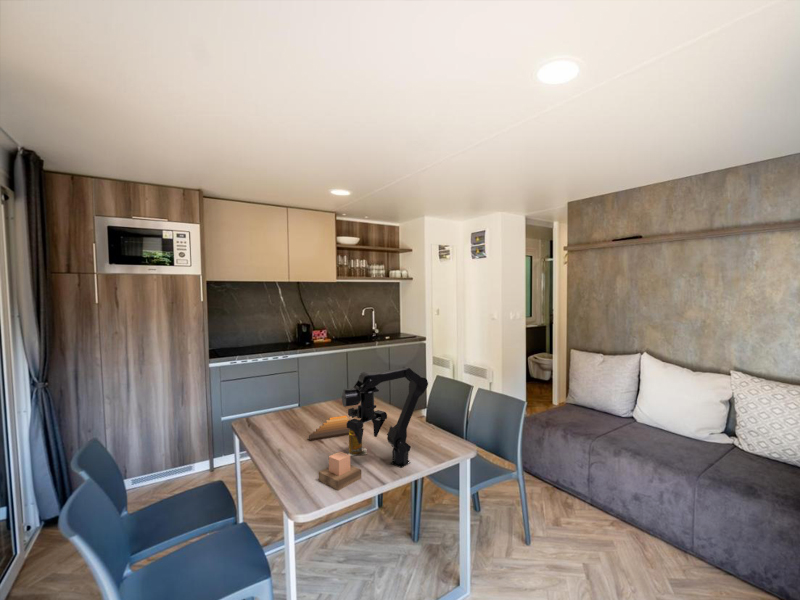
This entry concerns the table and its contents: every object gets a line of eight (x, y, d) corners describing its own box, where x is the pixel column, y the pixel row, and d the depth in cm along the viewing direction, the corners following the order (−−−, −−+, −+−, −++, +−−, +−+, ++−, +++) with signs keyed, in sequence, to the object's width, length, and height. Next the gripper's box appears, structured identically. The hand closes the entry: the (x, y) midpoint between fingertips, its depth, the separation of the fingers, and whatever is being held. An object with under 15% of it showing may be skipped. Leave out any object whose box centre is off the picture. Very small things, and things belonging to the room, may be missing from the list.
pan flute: (310, 442, 185) (357, 434, 195) (309, 436, 185) (357, 428, 195) (302, 426, 208) (345, 420, 218) (302, 420, 208) (345, 414, 218)
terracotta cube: (350, 470, 148) (350, 455, 148) (339, 475, 143) (338, 460, 143) (340, 465, 151) (340, 451, 151) (328, 471, 147) (328, 456, 147)
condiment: (348, 449, 176) (348, 424, 176) (366, 448, 177) (366, 423, 176) (348, 456, 169) (347, 430, 168) (366, 455, 169) (366, 429, 169)
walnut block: (361, 479, 148) (361, 469, 148) (338, 491, 139) (338, 481, 139) (341, 470, 156) (341, 461, 156) (318, 481, 147) (318, 471, 147)
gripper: (369, 394, 166) (369, 429, 166) (337, 404, 152) (337, 442, 152) (387, 399, 159) (388, 435, 159) (355, 410, 144) (356, 449, 145)
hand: (367, 440), depth 154 cm, fingers open, 9 cm apart
